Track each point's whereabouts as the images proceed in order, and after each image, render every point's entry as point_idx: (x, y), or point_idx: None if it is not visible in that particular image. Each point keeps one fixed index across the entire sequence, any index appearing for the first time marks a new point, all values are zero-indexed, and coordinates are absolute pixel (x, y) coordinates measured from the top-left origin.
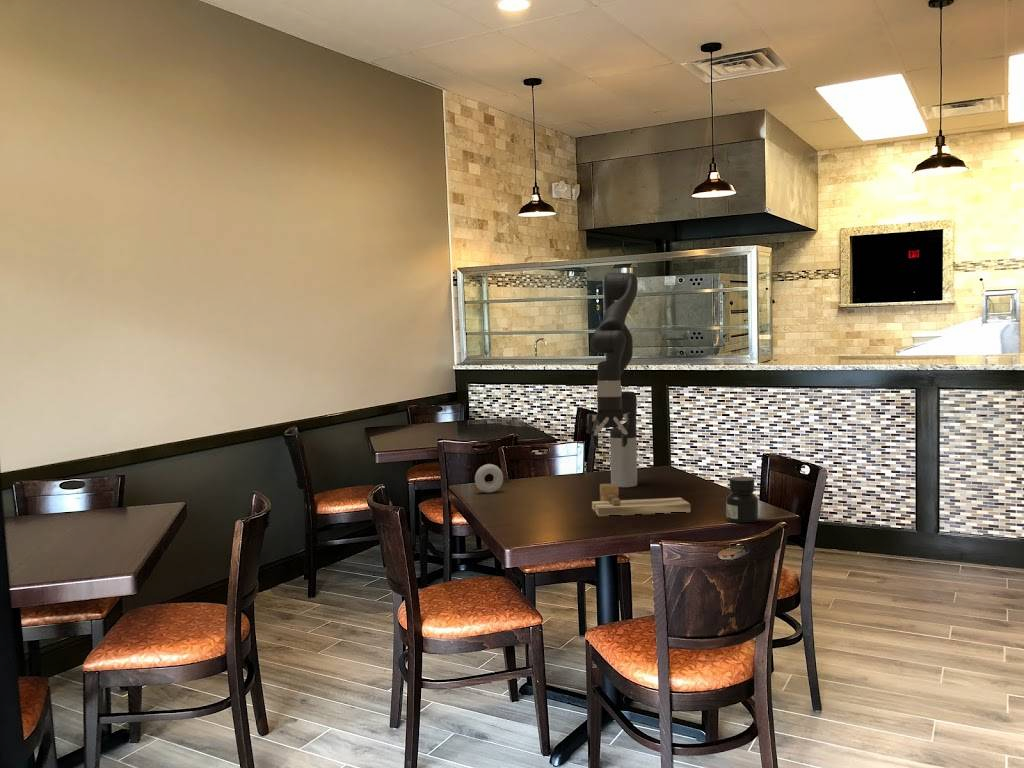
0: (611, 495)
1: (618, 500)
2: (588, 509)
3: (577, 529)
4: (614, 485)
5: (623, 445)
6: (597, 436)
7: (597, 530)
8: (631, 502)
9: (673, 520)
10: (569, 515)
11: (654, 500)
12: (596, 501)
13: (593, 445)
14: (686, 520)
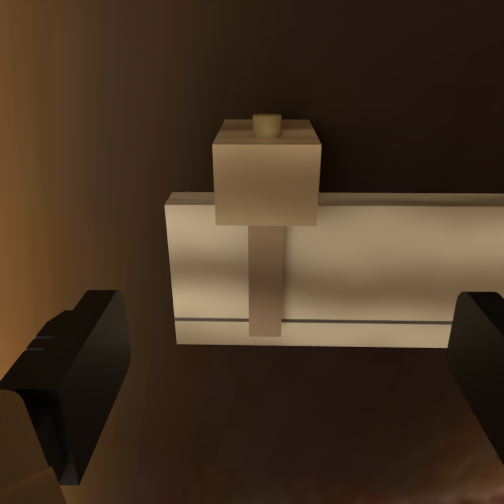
0: (263, 237)
1: (272, 334)
2: (155, 184)
3: (90, 462)
4: (295, 212)
5: (454, 373)
6: (68, 478)
7: (151, 481)
8: (352, 268)
9: (437, 423)
10: (64, 281)
11: (481, 248)
12: (187, 209)
13: (64, 314)
14: (480, 430)
